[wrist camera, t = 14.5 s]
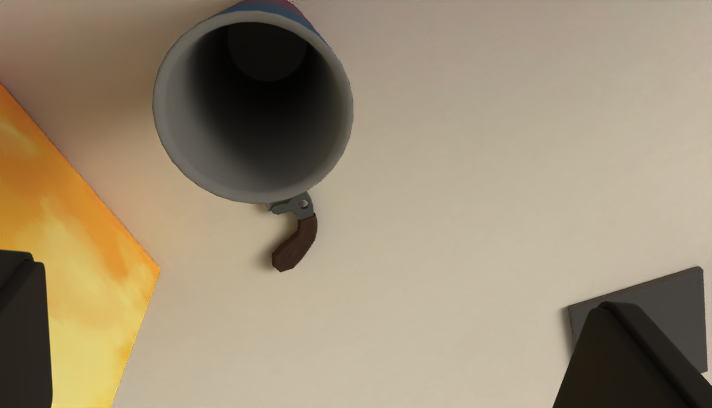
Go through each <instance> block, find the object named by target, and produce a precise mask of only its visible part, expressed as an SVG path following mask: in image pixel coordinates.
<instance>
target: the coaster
mask: <svg viewBox="0 0 712 408" xmlns="http://www.w3.org/2000/svg"><path fill="white" fill-rule="evenodd" d="M604 301H611V302H623V303H633V304H637V305H638V306H639V307H641V308H642V309H643V311H644V312H645V313H646V314H647V315H648V316H649V317H650V318H651V319H652V321H653V322H654V323H655V324H656V325H657V326H658V327H659V328H660V329H661V330H662V332H663V333H664V334H665V335H666V336H667V337H668V338H669V339H670V340H671V342H672V343H673V344H674V345H675V346H676V347H677V348H678V349H679V350H680V351H681V353H682V354H683V355H684V356H685V357H686V358H687V359H688V360H689V361H690V363H691V364H692V365H693V366H694V367H695V368H696V369H697V370H698V371H699V372H700V373H704V372H707V371H708V368H707V346H706V324H705V302H704V279H703V269H702V268H701V267H699V266H698V267H695V268H692V269H689V270H685V271H682V272H679V273H676V274H672V275H669V276H666V277H663V278H659V279H656V280H653V281H650V282H646V283H643V284H640V285H637V286H633V287H630V288H627V289H624V290H620V291H617V292H614V293H611V294H607V295H604V296H601V297H598V298H594V299H591V300H588V301H585V302H581V303H578V304H575V305H572V306H569V307H568V309H569V315H570V321H571V327H572V333H573V339H574V344H575V347H576V344H577V341H578V339H579V336H580V333H581V331H582V328H583V325H584V323H585V320H586V317H587V315H588V313H589V311H590V310H591V309H593V308H597V306H598V305H599V304H600V303H601V302H604Z"/></svg>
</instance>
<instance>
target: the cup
mask: <svg viewBox="0 0 712 408" xmlns="http://www.w3.org/2000/svg"><path fill="white" fill-rule="evenodd" d="M152 108H153V114H154V121H155V127H156V130H157V132H158V135H159V138H160V141H161V143H162V145H163V147H164V149H165V150H166V152H167V154H168V155H169V157H170V159H171V160H172V162H173V163H174V164H175V165H176V166H177V167H178V168H179V170H180V171H181V172H182V173H183V174H184V175H185V176H186V177H187V178H189V179H190V180H191V181H193V182H194V183H195V184H197V185H198V186H199V187H201V188H203V189H205V190H206V191H208V192H210V193H212V194H214V195H216V196H219V197H222V198H225V199H228V200H232V201H236V202H243V203H251V204H258V203H273V202H277V201H281V200H286V199H289V198H292V197H294V196H296V195H299V194H301V193H303V192H306V191H307V190H308V189H310V188H311V187H313V186H314V185H316V184H317V183H319V182H320V181H321V180H322V179H323V178H324V177H325V176H326V175H327V174H328V173H329V172H330V171H331V170H332V169H333V168H334V167H335V165H336V164H337V162H338V161H339V159H340V158H341V156H342V155H343V153H344V150H345V148H346V145H347V143H348V141H349V138H350V134H351V129H352V124H353V97H352V93H351V88H350V83H349V80H348V78H347V76H346V73H345V71H344V69H343V66H342V64H341V63H340V61H339V60H338V58H337V57H336V55H335V54H334V52H333V51H332V49H331V48H330V47H329V46H328V44H327V43H326V42H325V41H324V39H323V38H322V37H321V36H320V35H319V33H318V32H317V31H316V30H315V29H314V27H313V26H312V25H311V24H310V23H309V21H308V20H307V19H306V18H305V17H304V15H303V14H302V13H301V12H300V11H299V10H298V9H297V8H296V7H295V6H294V5H293V4H291V3H290V2H288V1H287V0H244V1H242V2H240V3H238V4H236V5H234V6H232V7H230V8H228V9H226V10H224V11H222V12H220V13H218V14H216V15H214V16H212V17H210V18H208V19H206V20H204V21H202V22H200V23H198V24H197V25H195V26H194V27H193V28H191V29H190V30H189V31H187V32H186V33H185V34H183V35H182V36H181V37H180V38H179V39H178V40H177V42H176V43H175V44H174V45H173V46H172V47H171V49H170V50H169V51H168V53H167V55H166V56H165V58H164V60H163V62H162V64H161V66H160V68H159V70H158V74H157V77H156V81H155V84H154V89H153V106H152Z"/></svg>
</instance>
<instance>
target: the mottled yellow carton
mask: <svg viewBox="0 0 712 408" xmlns="http://www.w3.org/2000/svg"><path fill="white" fill-rule="evenodd" d="M0 249H1V250H13V251H25V252H30V253H31V254H32V256H33V258H34V261H35V262H42V263H43V264H44V266H45V271H46V287H47V303H48V319H49V335H50V352H51V368H52V384H53V400H52V406H51V408H111V405H112V402H113V399H114V397H115V394H116V391H117V388H118V386H119V383H120V380H121V378H122V375H123V372H124V369H125V367H126V364H127V361H128V358H129V356H130V353H131V350H132V348H133V345H134V342H135V339H136V337H137V334H138V331H139V328H140V326H141V323H142V320H143V318H144V315H145V312H146V309H147V307H148V304H149V301H150V298H151V296H152V293H153V290H154V288H155V285H156V282H157V279H158V277H159V274H160V268H159V267H158V266H157V265H156V264H155V262H154V261H153V260H152V259H151V258H150V257H149V255H148V254H147V253H146V252H145V251H144V250H143V248H142V247H141V246H140V245H139V244H138V243H137V241H136V240H135V239H134V238H133V237H132V236H131V234H130V233H129V232H128V231H127V230H126V229H125V227H124V226H123V225H122V224H121V223H120V222H119V220H118V219H117V218H116V217H115V216H114V215H113V213H112V212H111V211H110V210H109V209H108V208H107V206H106V205H105V204H104V203H103V202H102V201H101V199H100V198H99V197H98V196H97V195H96V194H95V192H94V191H93V190H92V189H91V188H90V187H89V185H88V184H87V183H86V182H85V181H84V180H83V178H82V177H81V176H80V175H79V174H78V173H77V171H76V170H75V169H74V168H73V167H72V166H71V164H70V163H69V162H68V161H67V160H66V159H65V157H64V156H63V155H62V154H61V153H60V152H59V150H58V149H57V148H56V147H55V146H54V145H53V143H52V142H51V141H50V140H49V139H48V138H47V136H46V135H45V134H44V133H43V132H42V131H41V129H40V128H39V127H38V126H37V125H36V124H35V122H34V121H33V120H32V119H31V118H30V117H29V115H28V114H27V113H26V112H25V111H24V110H23V108H22V107H21V106H20V105H19V104H18V103H17V101H16V100H15V99H14V98H13V97H12V96H11V94H10V93H9V92H8V91H7V90H6V89H5V87H4V86H3V85H2V84H1V83H0Z"/></svg>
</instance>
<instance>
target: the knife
mask: <svg viewBox="0 0 712 408" xmlns="http://www.w3.org/2000/svg"><path fill="white" fill-rule="evenodd" d="M302 200H305V201H307V202H308V205H307V206H306V207H300V206H299V205H298V203H299V202H300V201H302ZM265 205H266V207H267V209H268V211H272V213H273V214H277V215H278V214H282V213H285V212H294V213H295V214H296V215H297V217H298V227H297V230H296V232H295V233H294V234H293V235H292V236H291V237H290V238H288V239H287V240H286V241H285V242H283V243H282V244H281V245H280V246H279V247H278V248H277V249H276V250H275V251H274V252H273V253H272V265H273V267H275V268H276V269H277V270H278V271H280V272H283V271H286V270H289V269H293V268H294V267H295V266H296V265H297V264H298V263H299V262H300V260H301V259H302V258H303V257H304V255H305V254H306V252H307V251H308V250H309V248H310V247H311V245H312V244H313V242H314V241H315V237H316V233H317V218H316V214H315V213H314V210H313V204H312V201H311V198H310V196H309V194H308V193H307V191H306V192H303V193H301V194H299V195H296V196H294V197H292V198H289V199H286V200H281V201H277V202H273V203H265Z"/></svg>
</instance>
